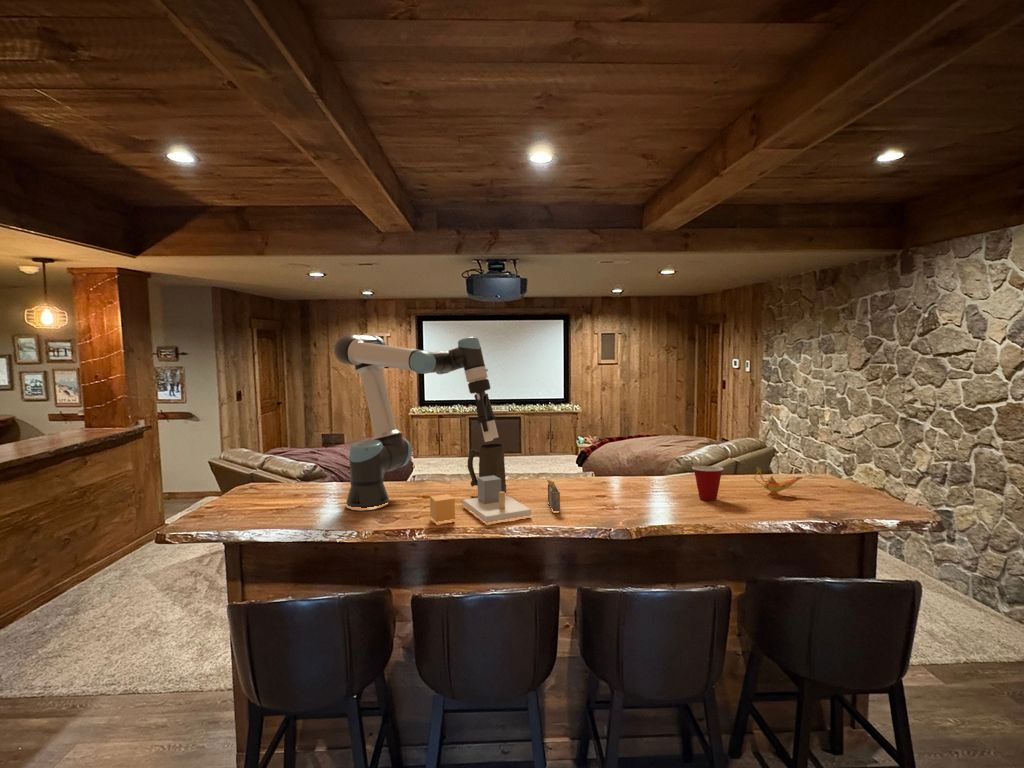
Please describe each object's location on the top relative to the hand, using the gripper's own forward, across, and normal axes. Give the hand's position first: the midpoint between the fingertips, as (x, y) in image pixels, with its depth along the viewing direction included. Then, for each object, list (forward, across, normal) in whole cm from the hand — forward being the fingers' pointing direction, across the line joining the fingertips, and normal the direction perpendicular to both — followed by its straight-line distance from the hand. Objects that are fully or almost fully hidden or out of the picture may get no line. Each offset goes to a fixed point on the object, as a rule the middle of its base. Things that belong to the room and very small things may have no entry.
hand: (492, 439), depth 179 cm
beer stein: (+21, +21, +11) cm, 32 cm away
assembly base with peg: (+25, -2, +4) cm, 25 cm away
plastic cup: (+40, +19, -69) cm, 83 cm away
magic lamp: (+46, +25, -96) cm, 109 cm away
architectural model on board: (+29, +5, -15) cm, 33 cm away
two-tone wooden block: (+22, -11, +20) cm, 32 cm away
